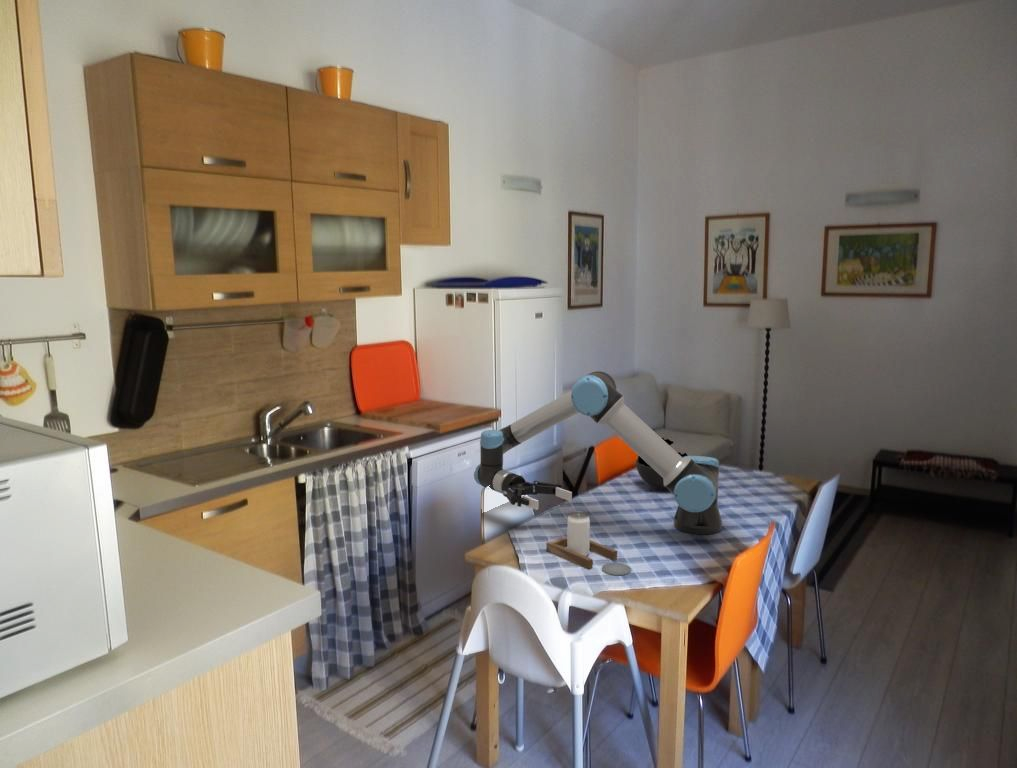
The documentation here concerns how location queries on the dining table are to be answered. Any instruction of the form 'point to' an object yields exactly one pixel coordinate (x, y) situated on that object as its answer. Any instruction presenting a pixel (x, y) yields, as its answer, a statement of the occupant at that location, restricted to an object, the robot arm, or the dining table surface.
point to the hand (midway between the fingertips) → (554, 500)
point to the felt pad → (616, 569)
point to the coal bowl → (652, 471)
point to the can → (578, 532)
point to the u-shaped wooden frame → (560, 550)
